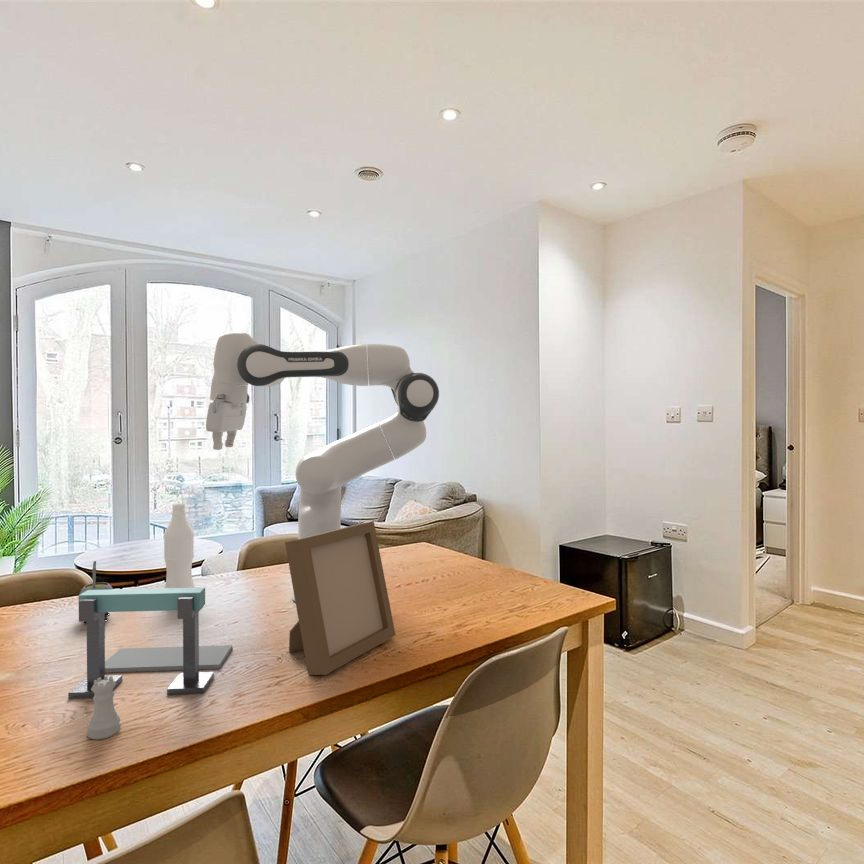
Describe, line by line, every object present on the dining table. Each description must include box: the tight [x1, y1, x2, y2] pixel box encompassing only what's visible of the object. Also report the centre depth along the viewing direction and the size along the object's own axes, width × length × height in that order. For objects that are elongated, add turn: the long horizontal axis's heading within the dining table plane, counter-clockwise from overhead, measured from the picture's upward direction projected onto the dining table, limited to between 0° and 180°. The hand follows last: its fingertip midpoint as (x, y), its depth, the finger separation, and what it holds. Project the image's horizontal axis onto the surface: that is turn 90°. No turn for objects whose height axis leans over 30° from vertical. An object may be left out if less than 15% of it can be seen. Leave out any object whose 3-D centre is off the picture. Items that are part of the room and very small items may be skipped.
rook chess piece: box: [86, 675, 122, 741], centre depth 83 cm, size 4×4×8 cm
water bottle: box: [163, 503, 195, 588], centre depth 144 cm, size 7×7×25 cm
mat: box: [105, 644, 233, 674], centre depth 108 cm, size 22×9×1 cm, turn 95°
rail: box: [78, 587, 206, 613], centre depth 97 cm, size 20×3×3 cm, turn 95°
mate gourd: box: [79, 560, 114, 624], centre depth 130 cm, size 8×8×15 cm
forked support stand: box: [67, 597, 215, 699], centre depth 97 cm, size 22×6×16 cm, turn 95°
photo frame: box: [284, 520, 396, 676], centre depth 113 cm, size 15×22×25 cm
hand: (223, 448), depth 143 cm, fingers open, 8 cm apart
